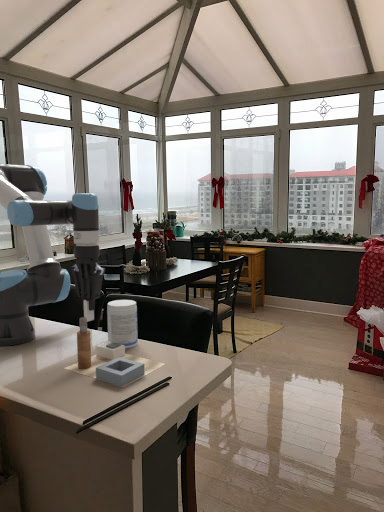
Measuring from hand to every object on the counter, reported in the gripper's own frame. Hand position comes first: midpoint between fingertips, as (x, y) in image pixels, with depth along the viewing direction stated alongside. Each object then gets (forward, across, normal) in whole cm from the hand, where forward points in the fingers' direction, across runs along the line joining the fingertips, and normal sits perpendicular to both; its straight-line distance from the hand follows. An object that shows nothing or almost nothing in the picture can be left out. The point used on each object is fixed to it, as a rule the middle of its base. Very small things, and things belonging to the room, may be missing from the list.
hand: (89, 320), depth 128 cm
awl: (+10, +8, -10) cm, 17 cm away
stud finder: (+10, +8, 0) cm, 13 cm away
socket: (+10, +22, -10) cm, 26 cm away
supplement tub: (+11, +4, +10) cm, 15 cm away
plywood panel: (+11, +16, -5) cm, 20 cm away
